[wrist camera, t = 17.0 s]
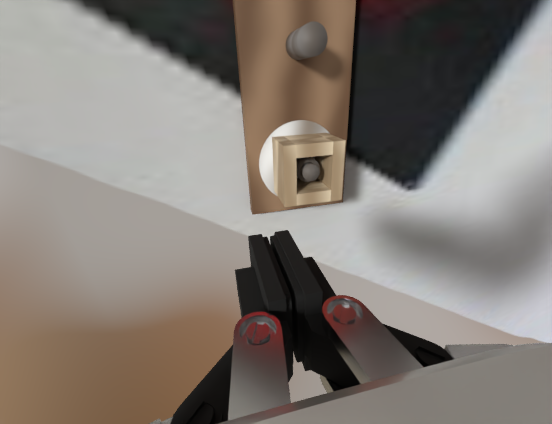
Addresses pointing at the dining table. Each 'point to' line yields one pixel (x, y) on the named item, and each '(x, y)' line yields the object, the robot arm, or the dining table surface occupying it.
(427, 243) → the dining table surface
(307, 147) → the collar
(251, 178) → the hub board
